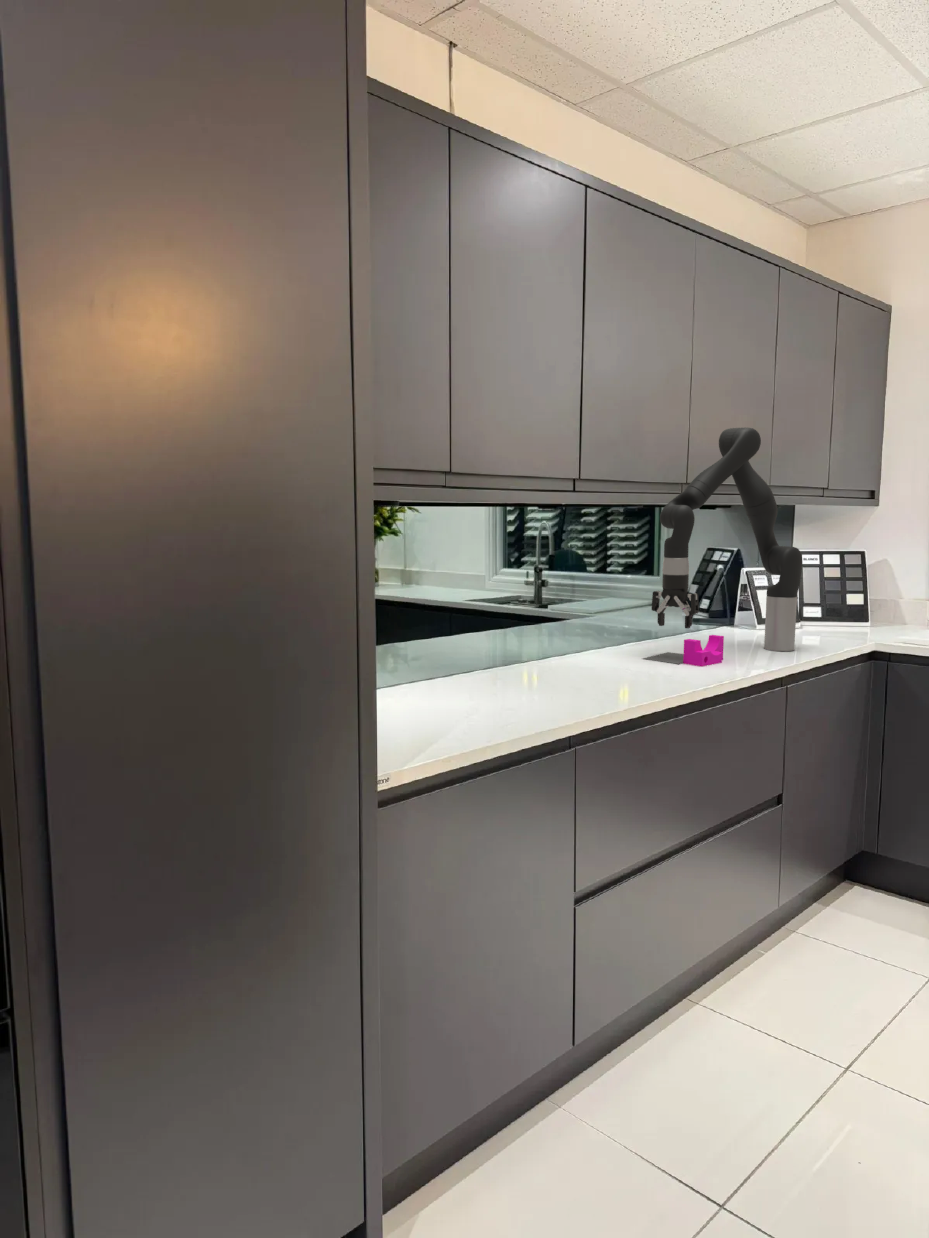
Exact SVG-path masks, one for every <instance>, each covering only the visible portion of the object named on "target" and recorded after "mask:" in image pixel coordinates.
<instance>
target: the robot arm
mask: <svg viewBox="0 0 929 1238" xmlns="http://www.w3.org/2000/svg"><path fill="white" fill-rule="evenodd" d="M761 443H762V440H761V435H760V433H759V431H758V430H757V429H755V428H752V427H732V428H731V427H730V428H726V429H725V430H723V431H722V432H721V433H720V435H719V437H718V448H719V452H720V454H721V458H720V459H719V460H718V461H716V462H714V463H713V464H712V465H710V466H708V467H707V468H706V469H704V470H702V471H701V472H700V473H698V475H696V476H695V477H694V479H693V480H692V481H691V482H690V483H689V484H688V486H686V487H685V489H684V490H683V491H682V492H681V493H679V494H678V495H677V496H675V497H674V498H673V499H671V500H669V502H668V503H667V504H665V505H664V506H663V508H662V509H661V511H660V515H659V521H660V524H661V525H662V526H663V527H664V528H666V529H671V530H672V533H671V534H672V535H671V536H669V537H667V538H665V540H664V542H663V543H664V545H663V563H662V571H661V572H662V581H661V582H662V584H661V585H662V591H660V590H654V591H653V592H652V597H651V611H652V612H656V614H657V624H658V626H660V627H664V626H665V624H666V623H665V621H666V620H665V615H666V613H664V612H665V611H666V610H667V609H668V608H669V607H670V608H671V607H675V608H680V609H681V610H682V611H683V613H684V614H685V615H684V629H690V628H691V627H692V625H693V615H696V614H699V611H700V609H699V608H700V605H699V593H697V592H695V593H689V591H688V590H689V581H690V580H689V579H690V578H689V577H690V575H689V571H690V563H689V543H690V540H691V536H692V534H693V530H694V526H695V522H696V521H695V512H694V511H693V510H697V509H699V508H701V507H702V506H703V505H704V504H705V503H706V502H707V501H708V500H709V499H710V497H712V495H713V494H714V493H715V492H716V491H717V490H718V488H719V487H720V486H722V485H723V483H724V482H726V480H728V479H729V478H730V477H731V476H732V479H733V480H734V483H735V486H736V488H737V491H738V493H739V496H740V499H741V502H742V505H743V508H744V509H745V510H744V511H745V512H746V515H747V517H748V521H749V523H750V525H751V528H752V532H753V534H754V538H755V540H756V543H757V544H756V545H757V547H758V553H759V556H760V560H761V564H762V566H763V569H764V570H765V571H766V572H767V573H768V574H771V575H777V576H778V575H779V579H778V581H777V583H775V584H772V585H770V586H768V587H767V588H766V598H765V599H766V601H765V602H766V603H765V623H764V641H763V642H764V643H763V645H764V646H763V649H765V650H767V651H773V652H774V651H775V652H793V651H795V646H796V645H795V642H796V640H795V639H796V624H797V623H796V622H797V603H798V602H797V601H798V592H799V589H800V585H801V578H802V577H801V576H802V569H803V557H802V553H801V550H800V549H799V548H798V547H795V546H787V545H786V546H783V545H779V543H778V541H777V539H776V536H775V532H774V531H775V530H774V529H775V523H776V521H777V516H778V512H779V510H778V504H777V501H776V499H775V496H774V493H773V491H772V488H771V487H770V485H768V483H767V482H766V481H765V479H763V478H762V477H761V476H760V475H759V473H757V472H756V471H755V469H754V467H752V465H751V463H750V460H751V459H752V458H753V457H754V456H755V455H756V454H757V453H758V451H759V450H760V447H761V445H762V444H761ZM661 597H662V599H663V601H662V602H660V599H661ZM688 600H689V601H690V603H688ZM660 603H661V604H660Z"/></svg>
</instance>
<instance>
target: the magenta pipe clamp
mask: <svg viewBox="0 0 929 1238" xmlns="http://www.w3.org/2000/svg"><path fill="white" fill-rule="evenodd" d="M724 641H725V636H724V635H717V634H709V635H708V639H707V643H706V645H705V646H704V648H703V647H702V643H701V640H699V639H692V638H687V639H683V654H684V655H683V664H684V665H685V664H686V665H691V666H694V667H696V666H697V667H707V665H708V666H712V664H713V665H716V664H722V663H723V660H724V643H725V642H724Z"/></svg>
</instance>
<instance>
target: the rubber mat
mask: <svg viewBox="0 0 929 1238" xmlns="http://www.w3.org/2000/svg"><path fill="white" fill-rule="evenodd" d="M683 655H684V653H677V652H668V651H667V652H662V653H659V654H656V655H651V656H647V657H643V658H642V660H646V661H653V662H659V663H666V664H672V665H682V664H684V663H683Z"/></svg>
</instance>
